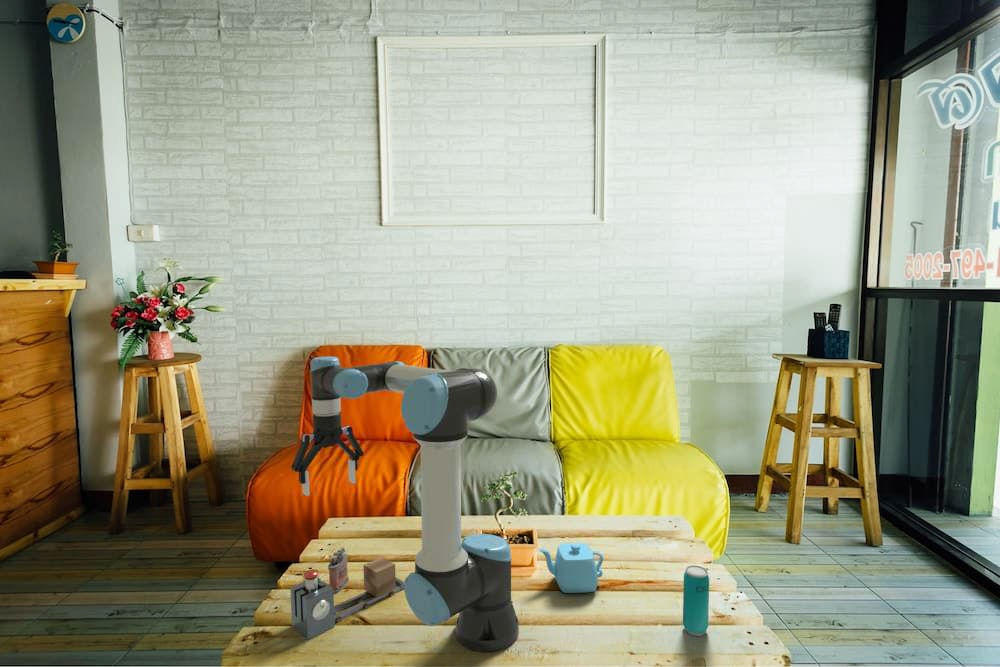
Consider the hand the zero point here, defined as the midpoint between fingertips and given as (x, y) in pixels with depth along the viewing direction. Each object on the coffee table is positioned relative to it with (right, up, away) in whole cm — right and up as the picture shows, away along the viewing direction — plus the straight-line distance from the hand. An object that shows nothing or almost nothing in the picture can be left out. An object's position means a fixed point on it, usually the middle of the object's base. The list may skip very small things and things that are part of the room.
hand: (329, 488), depth 158 cm
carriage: (+15, -26, -5) cm, 30 cm away
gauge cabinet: (+1, -29, -19) cm, 34 cm away
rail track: (+9, -28, -11) cm, 32 cm away
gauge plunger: (+1, -22, -19) cm, 29 cm away
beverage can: (+94, -29, -22) cm, 101 cm away
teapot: (+67, -27, -1) cm, 72 cm away
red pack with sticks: (+3, -28, 0) cm, 28 cm away
